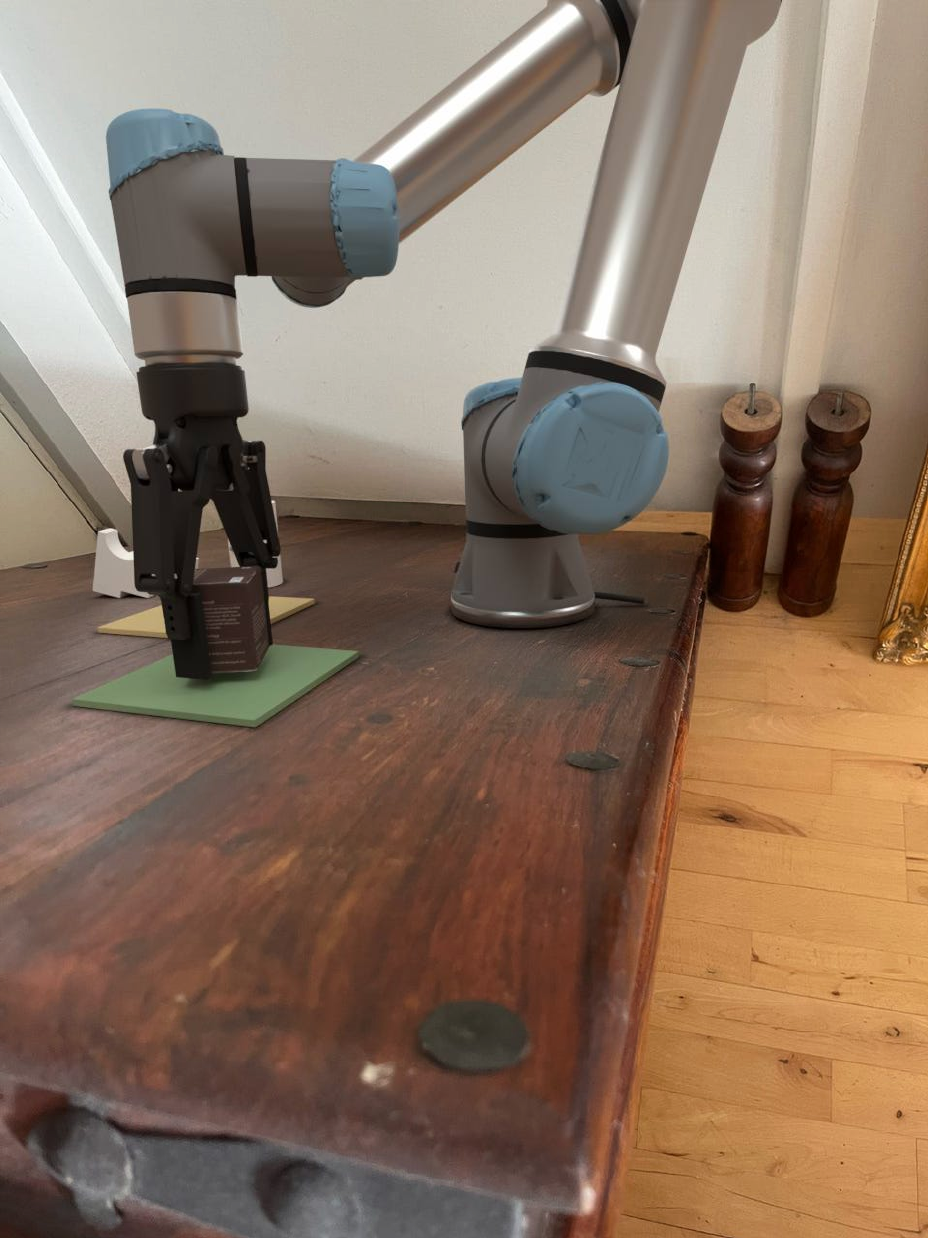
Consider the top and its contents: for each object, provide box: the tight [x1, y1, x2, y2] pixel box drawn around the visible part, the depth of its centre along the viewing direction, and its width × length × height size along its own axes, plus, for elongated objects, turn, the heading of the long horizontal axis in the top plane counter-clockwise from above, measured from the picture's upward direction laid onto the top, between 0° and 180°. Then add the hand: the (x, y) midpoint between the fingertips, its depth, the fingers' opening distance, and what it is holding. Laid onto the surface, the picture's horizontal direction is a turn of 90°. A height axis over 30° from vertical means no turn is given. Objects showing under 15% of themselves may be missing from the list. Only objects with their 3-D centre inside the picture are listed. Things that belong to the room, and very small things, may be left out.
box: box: [191, 566, 269, 673], centre depth 60 cm, size 6×6×7 cm
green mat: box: [71, 644, 360, 728], centre depth 61 cm, size 16×16×1 cm
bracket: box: [92, 528, 200, 599], centre depth 96 cm, size 13×7×8 cm, turn 174°
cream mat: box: [97, 595, 316, 639], centre depth 81 cm, size 16×16×1 cm
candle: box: [227, 499, 284, 589], centre depth 95 cm, size 6×6×15 cm
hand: (227, 659), depth 60 cm, fingers closed on box, 8 cm apart
